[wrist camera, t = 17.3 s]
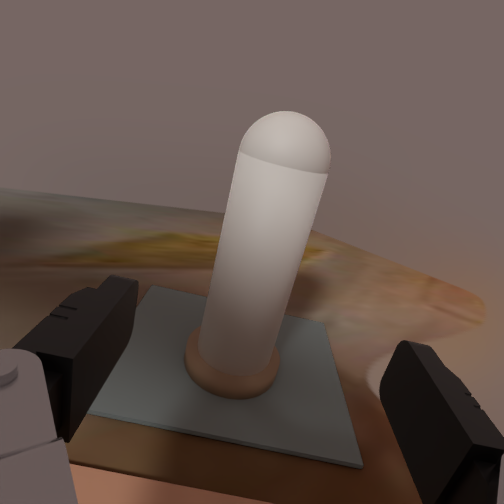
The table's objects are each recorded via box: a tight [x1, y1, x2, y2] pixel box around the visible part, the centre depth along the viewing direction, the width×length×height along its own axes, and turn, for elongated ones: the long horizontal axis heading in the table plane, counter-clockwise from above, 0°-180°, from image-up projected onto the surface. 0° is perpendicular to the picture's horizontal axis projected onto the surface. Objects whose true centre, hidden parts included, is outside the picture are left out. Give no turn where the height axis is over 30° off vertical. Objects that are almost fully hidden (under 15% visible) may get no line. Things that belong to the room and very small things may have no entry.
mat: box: [87, 285, 364, 469], centre depth 25 cm, size 16×14×1 cm
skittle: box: [184, 111, 331, 400], centre depth 21 cm, size 6×6×16 cm
